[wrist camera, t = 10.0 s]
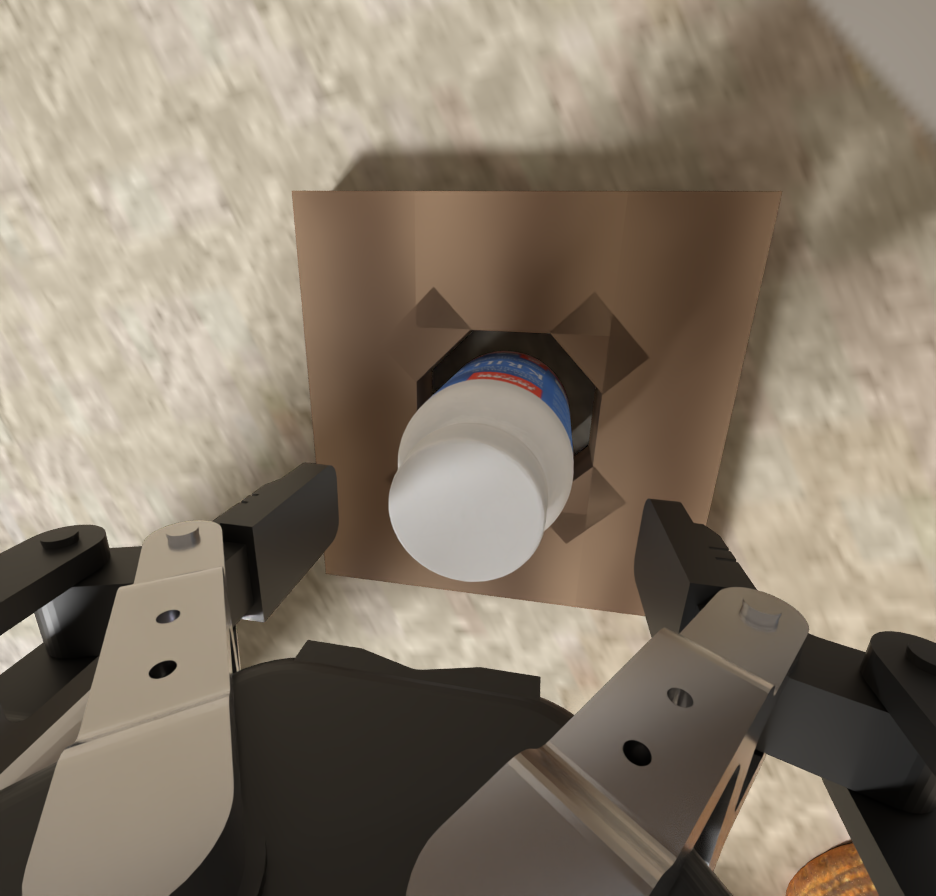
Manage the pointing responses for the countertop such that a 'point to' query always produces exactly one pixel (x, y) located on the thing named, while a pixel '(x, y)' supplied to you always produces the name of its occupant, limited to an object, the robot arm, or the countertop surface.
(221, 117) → the countertop surface
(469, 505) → the pill bottle
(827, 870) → the bell
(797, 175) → the countertop surface
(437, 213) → the socket board
